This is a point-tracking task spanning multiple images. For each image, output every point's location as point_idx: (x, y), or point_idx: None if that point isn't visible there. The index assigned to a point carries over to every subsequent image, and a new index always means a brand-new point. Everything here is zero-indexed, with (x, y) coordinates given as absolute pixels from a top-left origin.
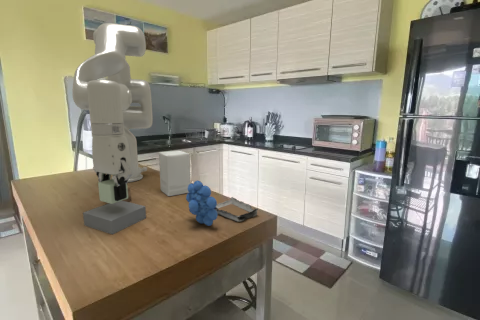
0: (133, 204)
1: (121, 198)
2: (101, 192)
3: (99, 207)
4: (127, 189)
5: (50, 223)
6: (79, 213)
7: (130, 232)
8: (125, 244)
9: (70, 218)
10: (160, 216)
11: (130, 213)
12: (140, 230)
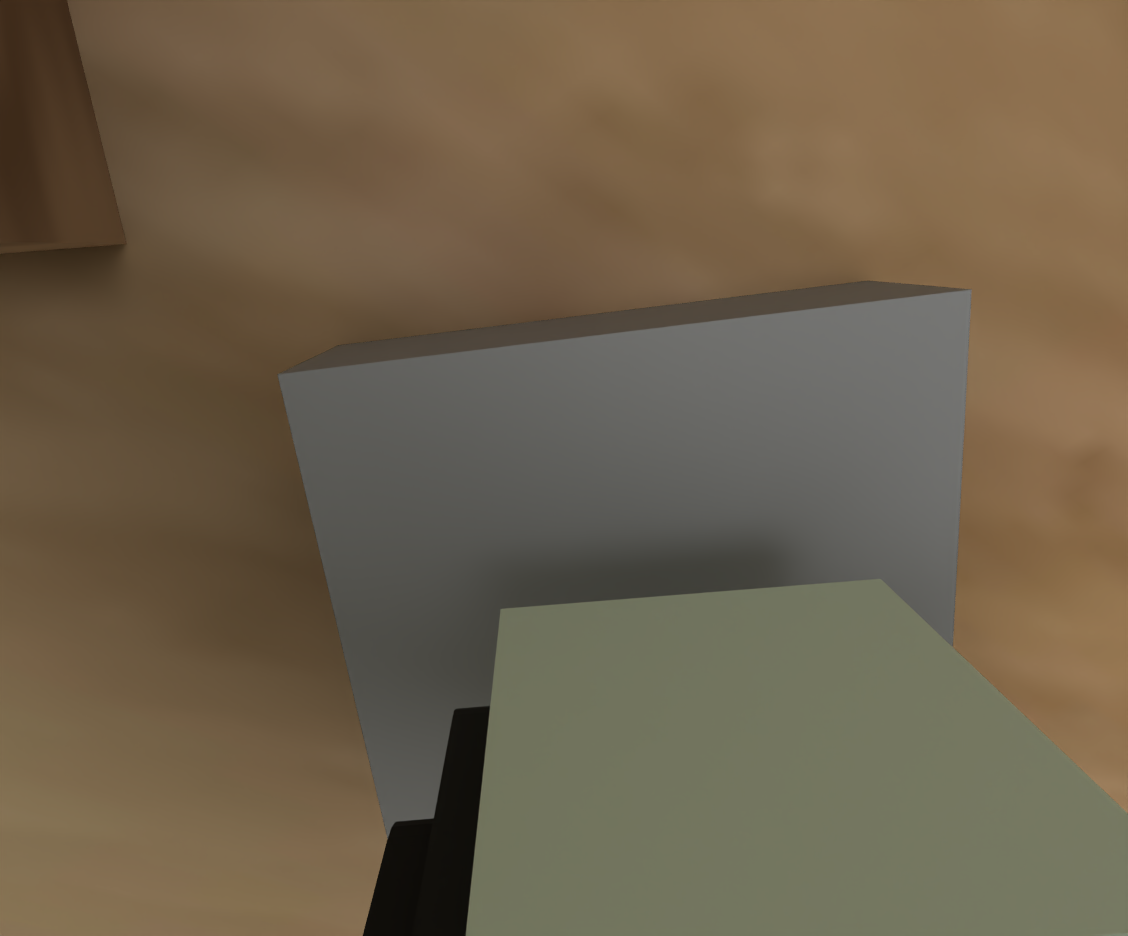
0: (720, 359)
1: None
2: None
3: (393, 728)
4: (997, 694)
5: (114, 932)
6: (26, 682)
7: (992, 613)
8: (1121, 753)
9: (120, 791)
10: (1015, 119)
11: (948, 579)
12: (1056, 531)
